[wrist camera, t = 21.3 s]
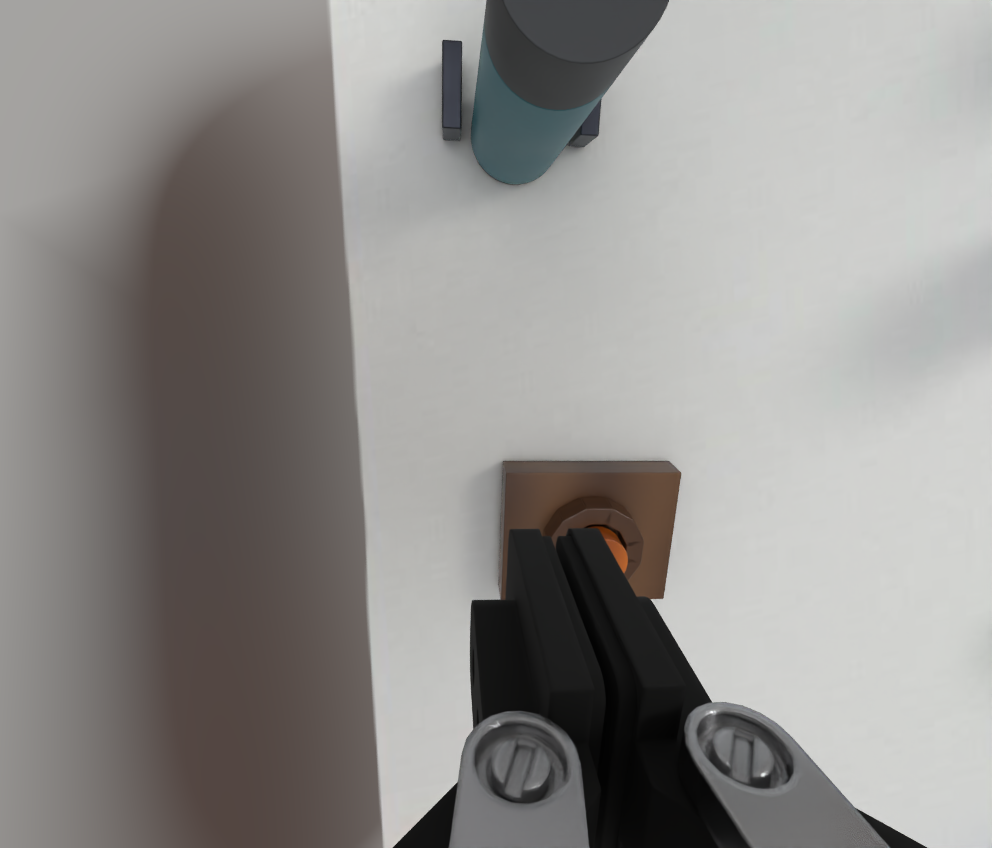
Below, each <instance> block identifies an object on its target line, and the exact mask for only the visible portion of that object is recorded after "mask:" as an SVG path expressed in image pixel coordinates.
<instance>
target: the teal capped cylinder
mask: <svg viewBox="0 0 992 848" xmlns="http://www.w3.org/2000/svg"><path fill="white" fill-rule="evenodd" d="M668 2H669V0H487V2H486V10H485V18H484V26H483V35H482V43H481V51H480V60H479V68H478V76H477V84H476V93H475V101H474V109H473V118H472V126H471V143H472V148H473V151H474V154H475V156H476V159H477V160H478V162H479V164H480V165H481V166H482V168H483V169H484V170H485V171H486V172H487V173H488V174H489V175H491V176H492V177H493V178H495V179H497V180H499V181H501V182H504V183H508V184H524V183H528V182H531V181H533V180H535V179H537V178H538V177H540V176H541V175H542V174H544V173H545V172H546V171H547V170H548V168H549V167H550V166H551V165H552V163H553V162H554V161H555V159H556V158H557V157H558V155H559V154H560V153H561V151H562V150H563V149H564V147H565V146H566V145H567V143H568V142H569V141H570V139H571V138H572V137H573V135H574V134H575V133H576V131H577V130H578V129H579V127H580V126H581V125H582V123H583V122H584V121H585V119H586V118H587V117H588V115H589V114H590V113H591V111H592V110H593V109H594V107H595V106H596V105H597V103H598V102H599V101H600V99H601V98H602V97H603V95H604V94H605V93H606V91H607V90H608V89H609V87H610V86H611V85H612V83H613V82H614V81H615V79H616V78H617V77H618V75H619V74H620V73H621V71H622V70H623V69H624V67H625V66H626V65H627V63H628V62H629V61H630V59H631V58H632V57H633V55H634V54H635V53H636V51H637V50H638V49H639V47H640V46H641V45H642V43H643V42H644V41H645V39H646V38H647V37H648V35H649V34H650V33H651V31H652V30H653V29H654V27H655V26H656V24H657V23H658V21H659V20H660V18H661V17H662V15H663V13H664V11H665V9H666V7H667V5H668Z"/></svg>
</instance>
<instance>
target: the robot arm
mask: <svg viewBox="0 0 992 848" xmlns="http://www.w3.org/2000/svg"><path fill="white" fill-rule="evenodd" d="M470 677H471V696H472V713H473V731H472V732H471V733H470V735H469V736H468V737H467V739H466V742H465V745H464V748H463V751H462V755H461V763H460V770H459V778H458V782H457V783H456V784H455V785H454V786H453V787H452V788H451V789H450V790H449V791H448V792H447V793H446V794H445V795H444V796H443V797H442V799H441V800H440V801H439V802H438V803H437V804H436V805H435V806H434V807H433V808H432V809H431V810H430V811H429V812H428V813H427V814H426V815H425V816H424V817H423V818H422V819H421V820H420V821H419V822H418V823H417V824H416V825H415V826H414V827H413V828H412V829H411V830H410V831H409V832H408V833H407V834H406V835H405V836H404V837H403V838H402V839H401V840H400V841H399V842H398V843H397V844H396V845H395V846H394V847H393V848H927V847H925V846H923V845H921V844H920V843H918V842H916V841H914V840H912V839H911V838H909V837H907V836H905V835H903V834H902V833H900V832H898V831H896V830H894V829H893V828H891V827H889V826H887V825H885V824H884V823H882V822H880V821H878V820H876V819H874V818H873V817H871V816H869V815H867V814H865V813H864V812H862V811H860V810H858V809H856V808H855V807H854V806H853V805H852V804H851V803H850V802H849V801H848V800H847V798H846V797H845V796H844V795H843V794H842V793H841V792H840V791H839V790H838V788H837V787H836V786H835V785H834V784H833V783H832V782H831V781H830V779H829V778H828V777H827V776H826V775H825V774H824V773H823V772H822V770H821V769H820V768H819V767H818V766H817V765H816V764H815V763H814V761H813V760H812V759H811V758H810V757H809V756H808V755H807V754H806V752H805V751H804V750H803V749H802V748H801V747H800V746H799V745H798V743H797V742H796V741H795V740H794V739H793V738H792V737H791V736H790V735H789V734H788V733H787V732H786V731H785V730H784V729H783V728H781V727H780V726H779V725H778V724H777V723H775V722H774V721H772V720H771V719H769V718H768V717H766V716H764V715H763V714H761V713H759V712H757V711H754V710H752V709H750V708H747V707H745V706H742V705H737V704H732V703H727V702H714V703H712V701H711V700H710V698H709V696H708V695H707V693H706V691H705V690H704V688H703V686H702V685H701V683H700V681H699V679H698V678H697V676H696V674H695V673H694V671H693V669H692V668H691V666H690V664H689V663H688V661H687V659H686V658H685V656H684V654H683V653H682V651H681V649H680V648H679V646H678V644H677V642H676V641H675V639H674V637H673V636H672V634H671V632H670V631H669V629H668V627H667V626H666V624H665V622H664V621H663V619H662V617H661V616H660V614H659V612H658V611H657V609H656V607H655V605H654V604H653V602H652V601H651V600H650V599H649V598H648V597H645V596H639V597H637V596H636V595H635V593H634V591H633V589H632V587H631V586H630V584H629V582H628V580H627V578H626V577H625V575H624V573H623V571H622V569H621V568H620V566H619V564H618V562H617V561H616V559H615V557H614V555H613V553H612V552H611V550H610V548H609V546H608V544H607V543H606V541H605V539H604V537H603V535H602V534H601V532H600V530H599V529H598V528H569V529H568V530H567V533H566V536H558V537H557V541H556V549H555V546H554V544H553V541H552V538H551V537H550V536H542V535H541V532H540V530H539V529H510V531H509V538H508V557H507V577H506V596H505V600H472V604H471V626H470Z"/></svg>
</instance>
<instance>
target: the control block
mask: <svg viewBox="0 0 992 848" xmlns="http://www.w3.org/2000/svg"><path fill="white" fill-rule="evenodd" d="M680 478H681V472H680V471H679V470H678V469H677V468H676V467H675V466H674V465H672V464H671V463H670V462H669V461H503V475H502V502H501V529H500V556H499V583H498V585H499V592H500V599H501V600H505V596H506V577H507V557H508V538H509V531H510V529H539V530H540V532H541V535H542V536H550V537H551V538H552V541H553V544H554V546H555V549H556V541H557V537H558V536H566V533H567V530H568V529H569V528H588V527H593V526H601V527H605V528H608V529H610V530H611V531H613V532H614V533H615V534H616V535H617V537H618V538H619V540H620V542H621V543H622V545H623V547H624V549H625V550H626V553H627V556H628V564H627V568H626V571H625V573H624V575H625V577H626V578H627V580H628V582H629V584H630V586H631V587H632V589H633V591H634V593H635V595H636V596H637V597H639V596H645V597H648V598H649V599H663V598H664V591H665V584H666V577H667V570H668V563H669V556H670V549H671V541H672V534H673V527H674V520H675V513H676V506H677V499H678V492H679V485H680Z"/></svg>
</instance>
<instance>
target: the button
mask: <svg viewBox="0 0 992 848" xmlns="http://www.w3.org/2000/svg"><path fill="white" fill-rule="evenodd" d="M588 528H598V529H599V530H600V532H601V534H602V535H603V537H604V539H605V541H606V543H607V544H608V546H609V548H610V550H611V552H612V553H613V555H614V557H615V559H616V561H617V562H618V564H619V566H620V568H621V569H622V571H623V573H625V571H626V568H627V564H628V556H627V553H626V550H625V549H624V547H623V545H622V543H621V542H620V540H619V538H618V537H617V535H616V534H615V533H614V532H613V531H611V530H610V529H608V528H605V527H601V526H593V527H588Z"/></svg>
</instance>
